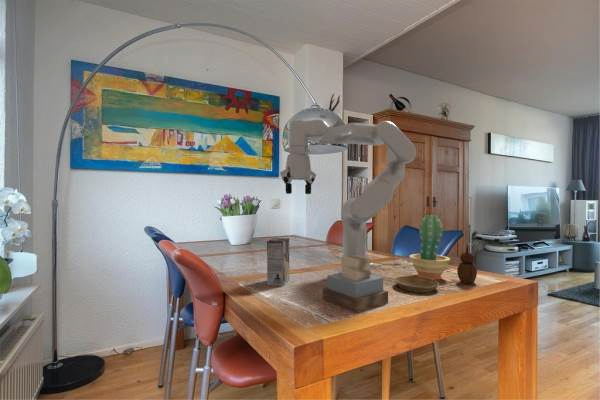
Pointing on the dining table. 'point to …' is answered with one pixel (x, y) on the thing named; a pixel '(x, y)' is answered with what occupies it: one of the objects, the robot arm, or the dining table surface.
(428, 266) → the potted cactus
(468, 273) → the wooden figurine
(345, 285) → the tower top
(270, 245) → the coffee box
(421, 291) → the plant saucer
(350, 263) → the maple cube
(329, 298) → the tower bottom
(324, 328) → the dining table surface
